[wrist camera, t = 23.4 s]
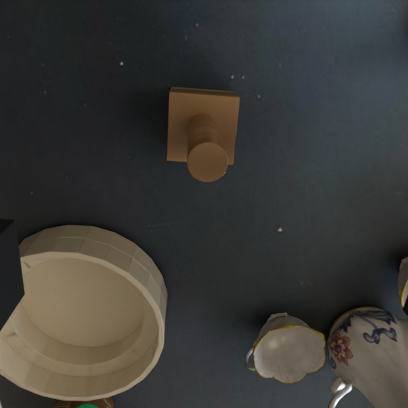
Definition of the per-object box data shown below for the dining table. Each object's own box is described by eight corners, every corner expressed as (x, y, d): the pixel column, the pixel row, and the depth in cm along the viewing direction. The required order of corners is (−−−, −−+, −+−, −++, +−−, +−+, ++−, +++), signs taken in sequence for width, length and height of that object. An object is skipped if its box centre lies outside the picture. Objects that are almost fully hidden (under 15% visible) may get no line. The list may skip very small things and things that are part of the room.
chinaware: (431, 206, 43) (558, 277, 27) (484, 311, 47) (620, 426, 31) (225, 317, 48) (232, 431, 32) (288, 404, 52) (322, 543, 37)
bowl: (-10, 216, 40) (-44, 247, 34) (170, 226, 41) (167, 257, 35) (12, 354, 47) (-14, 398, 41) (164, 359, 49) (161, 402, 43)
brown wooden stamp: (171, 86, 35) (161, 110, 22) (234, 91, 36) (261, 117, 22) (169, 148, 38) (158, 204, 24) (228, 152, 38) (249, 209, 25)
